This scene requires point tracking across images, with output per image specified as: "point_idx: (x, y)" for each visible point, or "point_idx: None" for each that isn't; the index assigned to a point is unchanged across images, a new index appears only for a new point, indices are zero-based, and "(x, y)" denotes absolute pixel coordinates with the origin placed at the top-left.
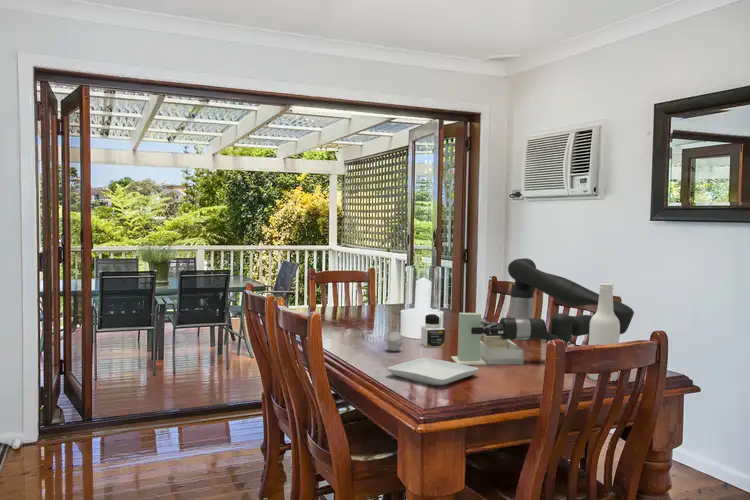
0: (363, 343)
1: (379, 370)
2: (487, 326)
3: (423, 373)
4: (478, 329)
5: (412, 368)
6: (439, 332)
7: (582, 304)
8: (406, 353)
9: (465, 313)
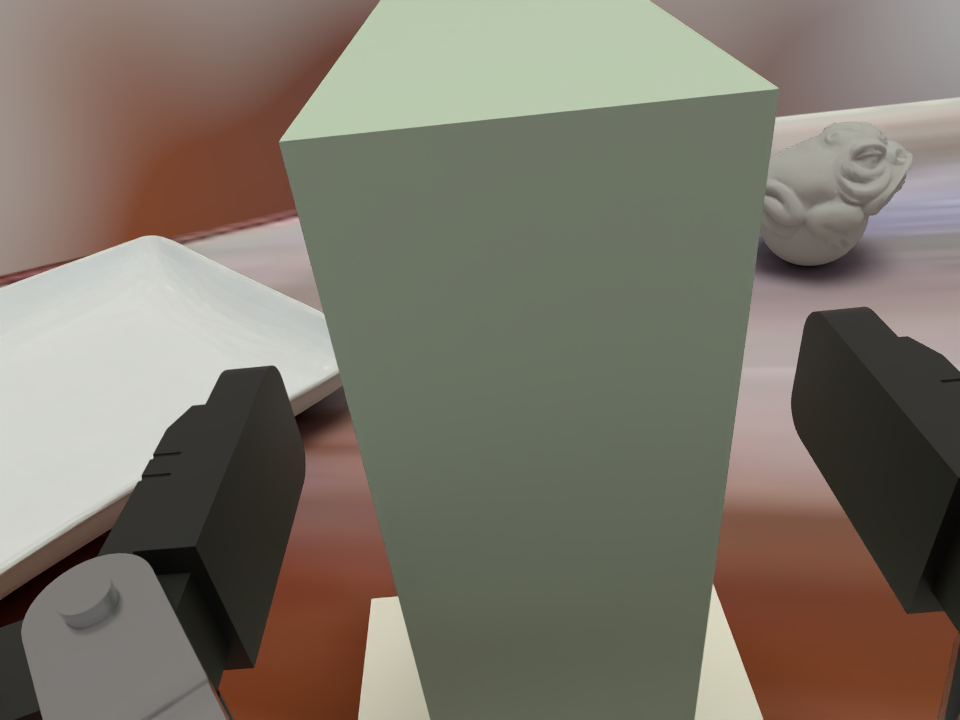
0: (953, 165)
1: (296, 252)
2: (164, 709)
3: (114, 378)
4: (142, 483)
5: (226, 328)
6: None
7: None
8: (764, 307)
9: (512, 5)
